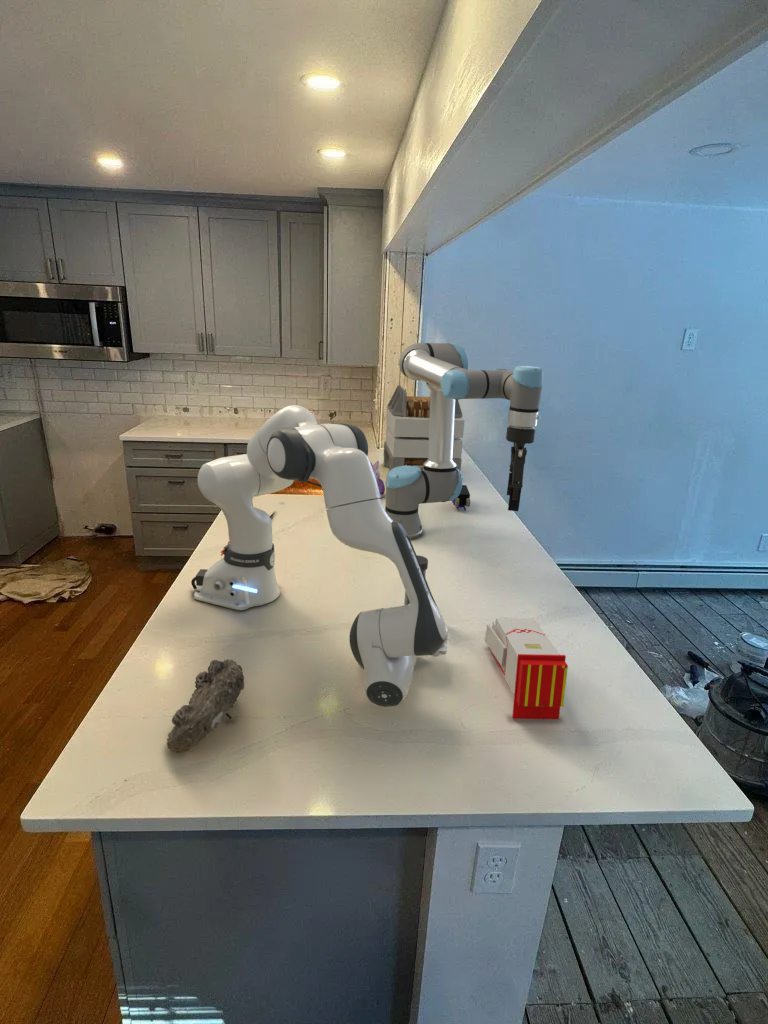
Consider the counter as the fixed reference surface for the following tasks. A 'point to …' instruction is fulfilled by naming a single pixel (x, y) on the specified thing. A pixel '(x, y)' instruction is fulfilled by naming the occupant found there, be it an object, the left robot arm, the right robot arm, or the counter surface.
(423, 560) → the lid
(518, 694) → the toy
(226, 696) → the fossil
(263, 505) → the counter surface
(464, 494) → the figurine character
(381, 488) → the figurine
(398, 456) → the white slatted box
